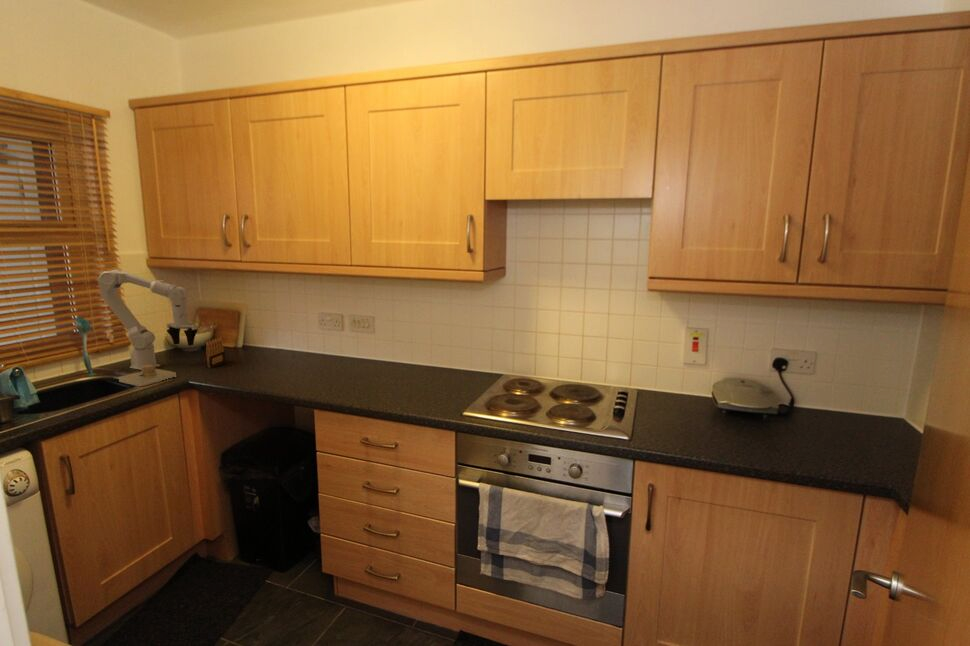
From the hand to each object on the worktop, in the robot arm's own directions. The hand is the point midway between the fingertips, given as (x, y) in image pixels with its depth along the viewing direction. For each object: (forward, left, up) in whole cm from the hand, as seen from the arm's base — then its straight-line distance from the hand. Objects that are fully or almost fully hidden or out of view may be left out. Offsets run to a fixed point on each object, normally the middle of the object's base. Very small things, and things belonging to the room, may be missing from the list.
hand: (183, 344), depth 222 cm
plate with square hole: (+7, -21, -9) cm, 24 cm away
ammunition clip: (+12, +6, -10) cm, 17 cm away
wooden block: (+7, -21, -9) cm, 24 cm away
